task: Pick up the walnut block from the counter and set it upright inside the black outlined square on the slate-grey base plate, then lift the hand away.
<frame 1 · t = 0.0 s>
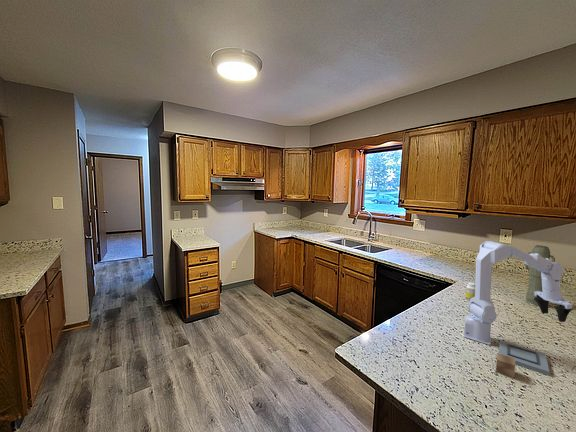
hand: (553, 317, 114), 11 cm above the worktop, tool pointing down, fingers open, 7 cm apart
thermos: (535, 304, 153), on the worktop
slate base plate: (521, 357, 102), on the worktop
walnut block: (504, 372, 93), on the worktop
supplement bottle: (470, 299, 158), on the worktop
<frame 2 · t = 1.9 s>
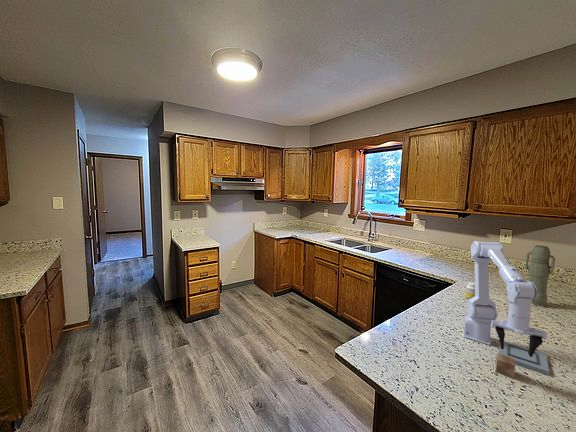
hand: (515, 351, 92), 9 cm above the worktop, tool pointing down, fingers open, 7 cm apart
nothing on the worktop moved.
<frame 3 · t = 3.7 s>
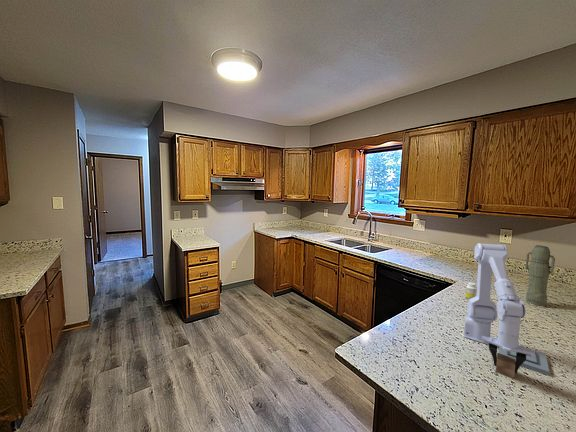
hand: (505, 368, 93), 1 cm above the worktop, tool pointing down, fingers closed on walnut block, 5 cm apart
walnut block: (504, 371, 93), on the worktop, touching gripper
everything else where it was.
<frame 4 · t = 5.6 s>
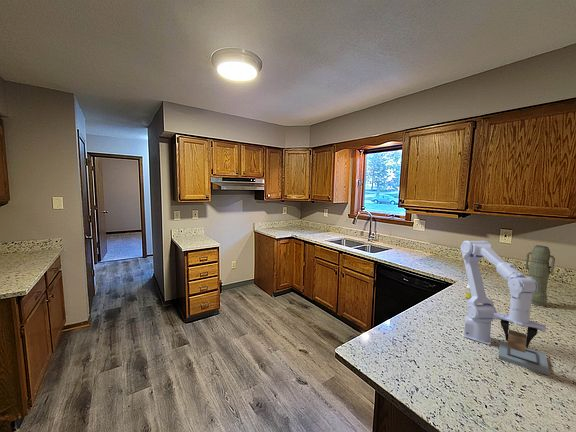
hand: (516, 342, 97), 8 cm above the worktop, tool pointing down, fingers closed on walnut block, 5 cm apart
walnut block: (516, 346, 97), point 7 cm above the worktop, touching gripper
everything else where it was.
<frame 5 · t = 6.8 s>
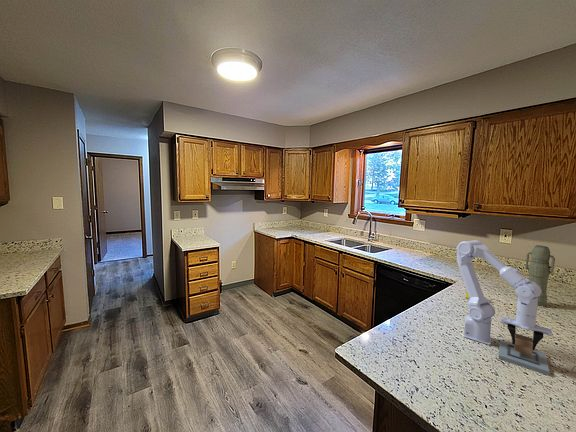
hand: (523, 346, 101), 5 cm above the worktop, tool pointing down, fingers closed on walnut block, 5 cm apart
walnut block: (522, 350, 101), point 3 cm above the worktop, touching gripper
everything else where it was.
when the fingers open (5 cm above the worktop, at t = 7.6 s): walnut block drops 2 cm, resting on slate base plate.
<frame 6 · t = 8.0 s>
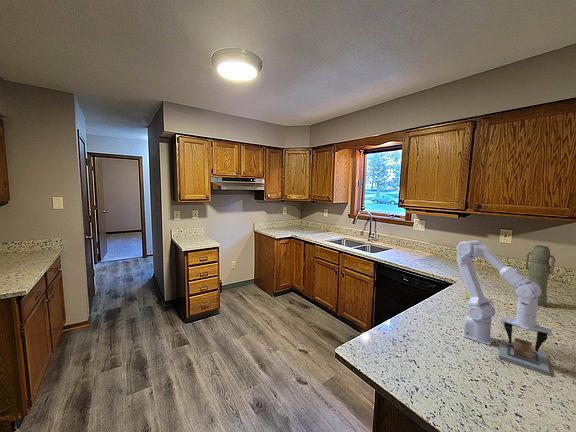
hand: (523, 346, 101), 5 cm above the worktop, tool pointing down, fingers open, 7 cm apart
walnut block: (522, 354, 101), point 1 cm above the worktop, touching slate base plate
everything else where it was.
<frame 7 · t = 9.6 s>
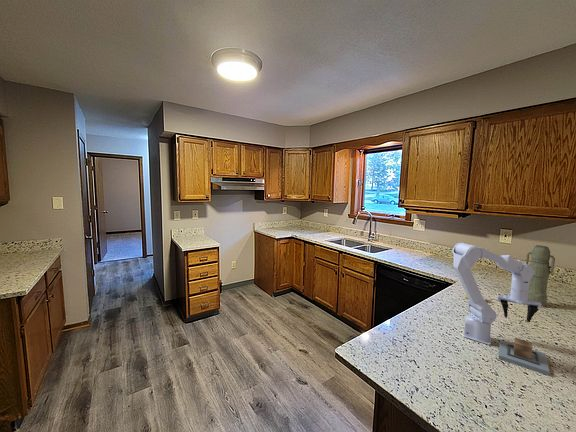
hand: (516, 319, 114), 9 cm above the worktop, tool pointing down, fingers open, 7 cm apart
nothing on the worktop moved.
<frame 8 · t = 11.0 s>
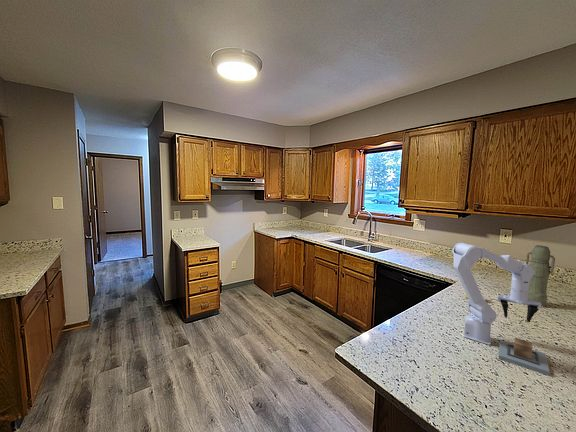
hand: (516, 319, 114), 9 cm above the worktop, tool pointing down, fingers open, 7 cm apart
nothing on the worktop moved.
at the end: walnut block 0.3 cm off-centre on the slate base plate, point 1.5 cm above the slate base plate's base; walnut block tilted 0°; the gripper is holding nothing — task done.
